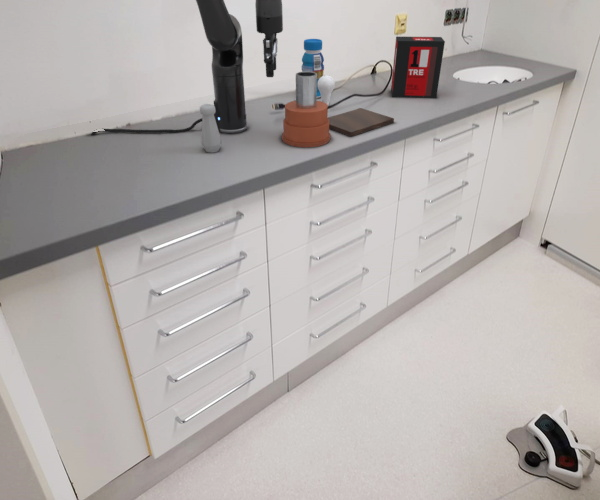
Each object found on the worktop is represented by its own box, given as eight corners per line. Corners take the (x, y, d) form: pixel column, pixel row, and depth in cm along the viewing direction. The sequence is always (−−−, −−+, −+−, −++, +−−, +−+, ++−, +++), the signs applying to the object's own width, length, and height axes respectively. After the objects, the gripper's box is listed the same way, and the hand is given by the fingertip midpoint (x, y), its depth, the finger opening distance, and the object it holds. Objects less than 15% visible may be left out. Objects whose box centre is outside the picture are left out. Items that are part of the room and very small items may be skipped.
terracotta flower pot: (280, 147, 139) (279, 113, 134) (283, 130, 152) (283, 98, 146) (330, 147, 139) (331, 113, 133) (330, 130, 151) (331, 98, 145)
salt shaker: (213, 144, 141) (208, 100, 134) (226, 149, 138) (222, 104, 131) (198, 150, 137) (192, 105, 130) (211, 155, 134) (206, 109, 127)
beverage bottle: (299, 98, 181) (298, 41, 170) (304, 92, 188) (304, 37, 177) (321, 99, 179) (322, 42, 168) (325, 93, 186) (326, 38, 175)
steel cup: (295, 108, 137) (295, 76, 132) (296, 102, 142) (296, 71, 137) (316, 108, 137) (316, 76, 132) (316, 102, 142) (317, 71, 137)
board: (350, 136, 146) (351, 132, 145) (318, 124, 156) (318, 120, 155) (393, 122, 157) (394, 118, 156) (360, 112, 166) (360, 107, 165)
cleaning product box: (392, 97, 181) (397, 40, 170) (390, 90, 189) (396, 36, 178) (436, 98, 180) (444, 41, 169) (433, 91, 187) (441, 37, 176)
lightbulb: (320, 110, 168) (320, 78, 162) (315, 105, 173) (315, 74, 167) (336, 108, 170) (337, 76, 164) (330, 103, 175) (331, 72, 168)
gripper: (258, 10, 140) (261, 67, 149) (252, 17, 128) (256, 79, 137) (284, 10, 140) (285, 68, 148) (280, 17, 128) (282, 79, 137)
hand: (271, 73), depth 143 cm, fingers open, 8 cm apart
